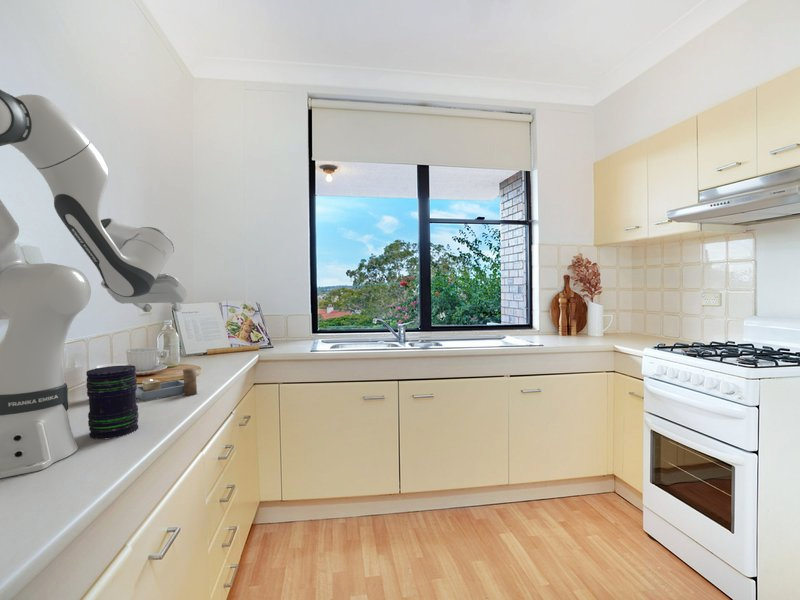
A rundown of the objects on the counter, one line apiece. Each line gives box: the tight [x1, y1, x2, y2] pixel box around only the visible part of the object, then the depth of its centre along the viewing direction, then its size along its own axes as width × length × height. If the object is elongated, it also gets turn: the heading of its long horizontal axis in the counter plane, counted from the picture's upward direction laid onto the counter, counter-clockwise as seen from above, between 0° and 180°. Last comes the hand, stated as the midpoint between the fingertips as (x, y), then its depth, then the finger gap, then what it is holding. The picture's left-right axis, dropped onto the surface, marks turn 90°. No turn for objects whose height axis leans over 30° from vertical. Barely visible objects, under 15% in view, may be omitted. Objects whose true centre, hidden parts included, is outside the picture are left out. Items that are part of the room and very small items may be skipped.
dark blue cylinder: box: [85, 364, 139, 440], centre depth 101 cm, size 10×10×15 cm
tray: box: [136, 379, 184, 402], centre depth 137 cm, size 14×11×3 cm
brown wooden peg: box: [182, 367, 198, 397], centre depth 136 cm, size 4×4×8 cm
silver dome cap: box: [141, 378, 154, 385], centre depth 136 cm, size 3×3×4 cm
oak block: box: [142, 379, 162, 392], centre depth 133 cm, size 4×4×4 cm
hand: (163, 310), depth 122 cm, fingers open, 8 cm apart
